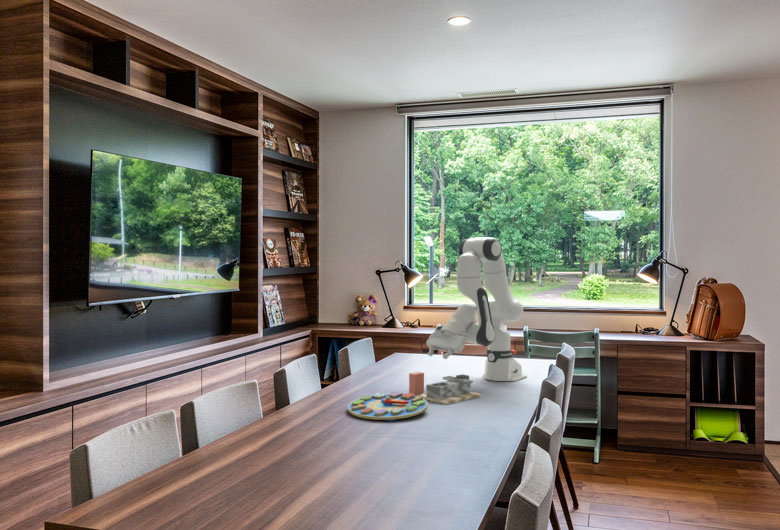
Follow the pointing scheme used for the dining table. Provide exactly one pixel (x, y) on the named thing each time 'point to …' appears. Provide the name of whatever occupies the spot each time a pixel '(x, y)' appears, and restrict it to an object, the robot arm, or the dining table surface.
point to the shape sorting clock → (388, 406)
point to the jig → (450, 390)
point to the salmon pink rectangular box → (416, 383)
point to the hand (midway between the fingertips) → (436, 356)
